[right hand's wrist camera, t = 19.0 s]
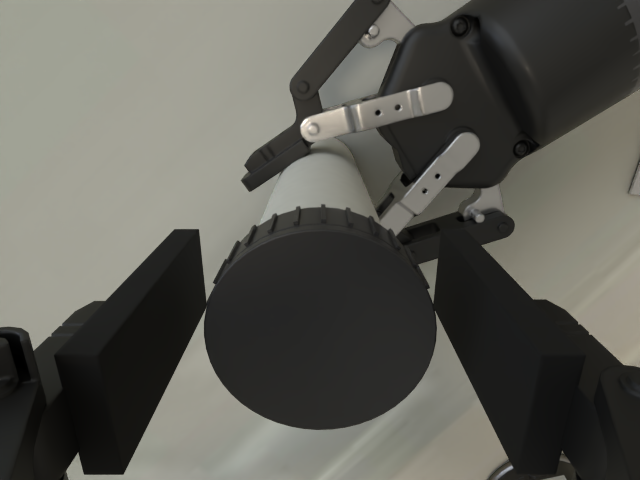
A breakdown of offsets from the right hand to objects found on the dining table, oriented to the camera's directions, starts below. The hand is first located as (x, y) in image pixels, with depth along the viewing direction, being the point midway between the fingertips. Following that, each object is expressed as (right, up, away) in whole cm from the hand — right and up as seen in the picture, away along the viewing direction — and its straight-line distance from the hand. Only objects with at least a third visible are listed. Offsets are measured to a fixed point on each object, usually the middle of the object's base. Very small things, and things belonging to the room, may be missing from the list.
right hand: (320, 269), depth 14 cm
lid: (0, -1, -3) cm, 4 cm away
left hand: (-2, +2, +9) cm, 10 cm away
